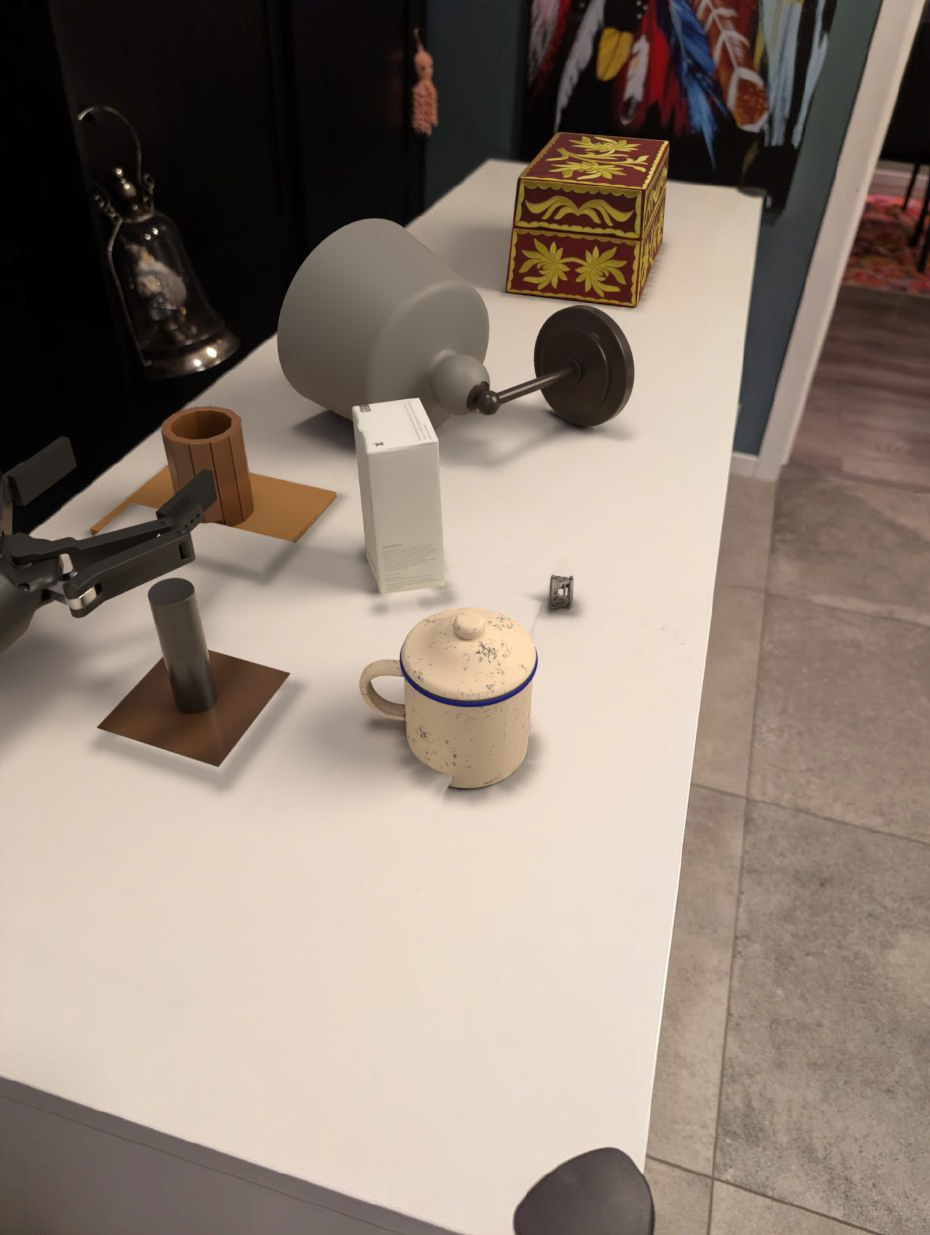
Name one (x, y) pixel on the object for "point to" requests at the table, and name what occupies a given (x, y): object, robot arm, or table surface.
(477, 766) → the teacup with lid
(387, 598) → the table surface
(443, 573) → the cosmetic box
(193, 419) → the brown wooden cylinder
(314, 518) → the wooden board
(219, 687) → the ring holder
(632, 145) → the decorative box
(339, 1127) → the table surface
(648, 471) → the table surface
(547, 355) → the light fixture
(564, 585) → the decorative ring
